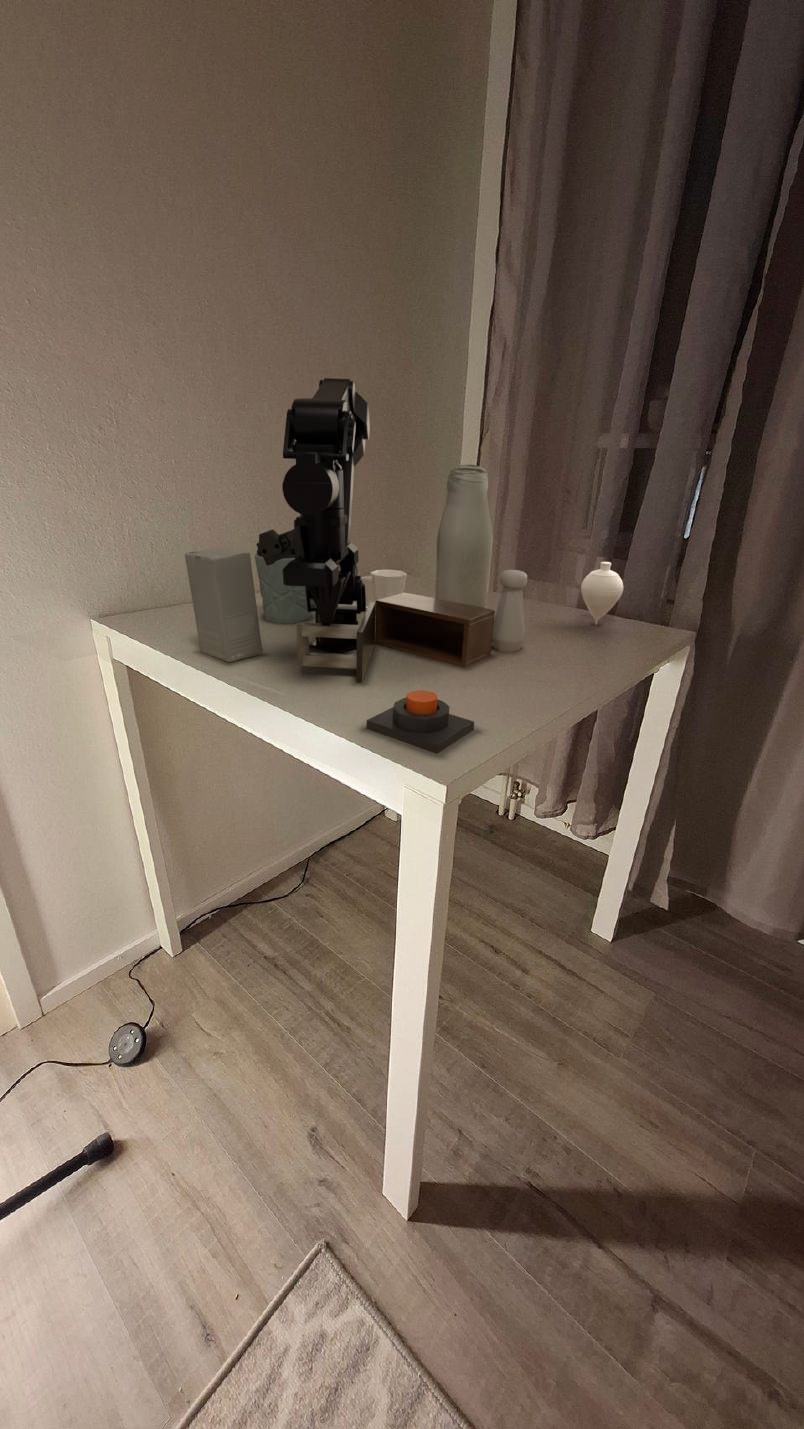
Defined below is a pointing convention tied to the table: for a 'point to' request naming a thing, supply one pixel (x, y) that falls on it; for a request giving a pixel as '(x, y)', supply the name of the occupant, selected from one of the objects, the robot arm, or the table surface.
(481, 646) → the cabinet
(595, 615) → the spinning top
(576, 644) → the table surface
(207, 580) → the cosmetic box
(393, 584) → the cup
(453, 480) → the glass bottle
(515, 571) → the salt shaker
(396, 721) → the button block
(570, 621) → the table surface
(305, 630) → the door
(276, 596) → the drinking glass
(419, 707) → the release button
